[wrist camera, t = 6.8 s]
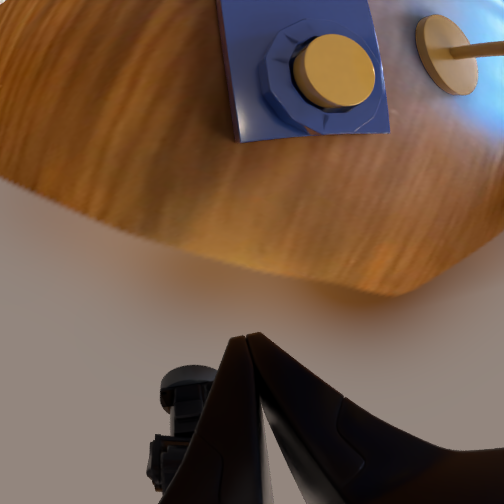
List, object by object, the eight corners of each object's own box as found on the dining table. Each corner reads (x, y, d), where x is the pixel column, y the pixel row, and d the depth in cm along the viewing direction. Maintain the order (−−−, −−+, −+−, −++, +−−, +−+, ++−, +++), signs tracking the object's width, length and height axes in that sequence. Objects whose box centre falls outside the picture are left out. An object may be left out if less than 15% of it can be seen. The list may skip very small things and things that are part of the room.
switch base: (372, 133, 18) (407, 134, 14) (235, 143, 17) (245, 143, 13) (342, -27, 13) (367, -47, 9) (210, -35, 11) (215, -65, 8)
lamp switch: (362, 109, 14) (379, 107, 12) (297, 109, 13) (310, 106, 12) (353, 45, 12) (368, 38, 11) (287, 41, 12) (298, 30, 10)
